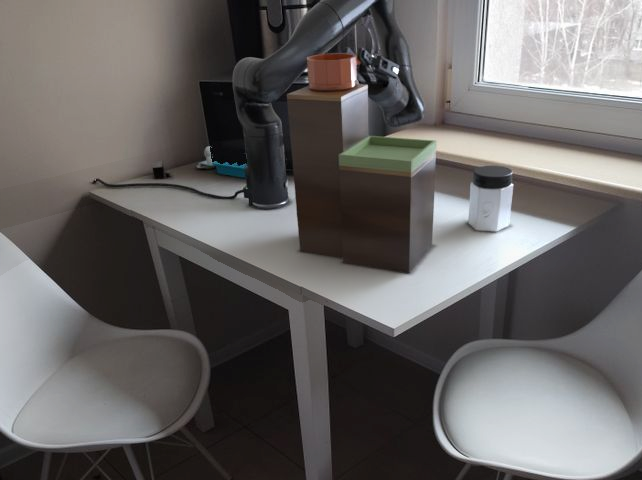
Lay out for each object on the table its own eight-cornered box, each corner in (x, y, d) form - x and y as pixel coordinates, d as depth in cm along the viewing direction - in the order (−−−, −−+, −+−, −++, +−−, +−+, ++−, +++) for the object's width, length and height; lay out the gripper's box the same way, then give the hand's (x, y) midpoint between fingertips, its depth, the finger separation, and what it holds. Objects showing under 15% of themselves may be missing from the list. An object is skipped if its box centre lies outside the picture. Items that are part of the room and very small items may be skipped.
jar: (465, 230, 135) (469, 175, 129) (470, 216, 142) (474, 164, 135) (507, 233, 133) (513, 178, 126) (510, 219, 139) (516, 166, 133)
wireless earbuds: (154, 180, 176) (152, 168, 174) (154, 172, 182) (152, 161, 180) (171, 178, 177) (169, 166, 175) (170, 171, 183) (168, 160, 181)
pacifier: (192, 169, 184) (206, 171, 181) (188, 147, 181) (202, 149, 177) (210, 162, 189) (224, 165, 185) (207, 141, 185) (220, 143, 182)
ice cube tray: (237, 162, 187) (236, 152, 186) (291, 170, 178) (290, 160, 176) (211, 173, 179) (209, 162, 178) (266, 182, 170) (265, 171, 168)
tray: (368, 145, 124) (368, 135, 123) (436, 151, 119) (436, 140, 118) (338, 165, 114) (338, 154, 112) (411, 172, 108) (411, 161, 107)
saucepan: (342, 72, 129) (341, 45, 126) (382, 73, 125) (382, 46, 123) (300, 89, 115) (298, 60, 112) (344, 91, 112) (342, 61, 109)
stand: (325, 230, 139) (316, 82, 122) (432, 245, 129) (438, 87, 112) (295, 255, 128) (281, 96, 112) (409, 273, 119) (412, 103, 102)
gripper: (356, 66, 139) (324, 32, 124) (414, 68, 134) (389, 32, 118) (350, 100, 140) (317, 70, 124) (408, 103, 135) (381, 72, 119)
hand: (352, 52), depth 121 cm, fingers closed on saucepan, 2 cm apart
